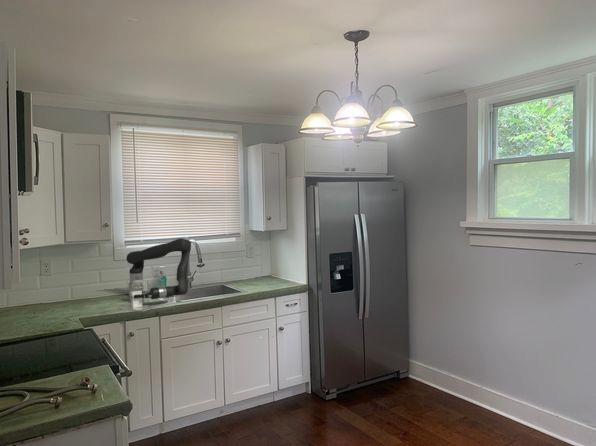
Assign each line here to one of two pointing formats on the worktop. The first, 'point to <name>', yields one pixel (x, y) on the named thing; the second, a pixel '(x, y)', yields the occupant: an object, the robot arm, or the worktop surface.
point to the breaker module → (135, 299)
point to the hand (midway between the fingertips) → (132, 296)
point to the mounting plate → (143, 308)
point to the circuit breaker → (142, 287)
